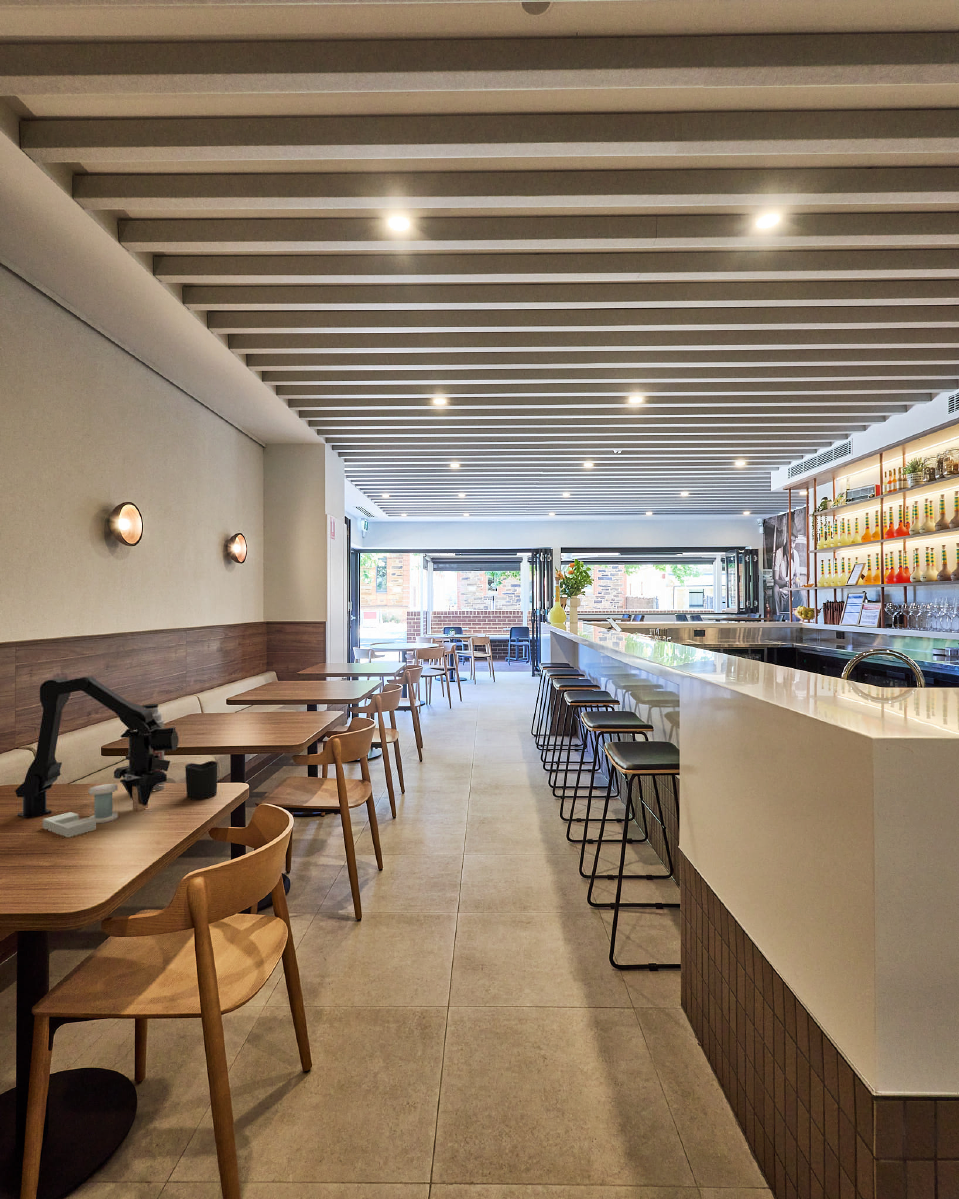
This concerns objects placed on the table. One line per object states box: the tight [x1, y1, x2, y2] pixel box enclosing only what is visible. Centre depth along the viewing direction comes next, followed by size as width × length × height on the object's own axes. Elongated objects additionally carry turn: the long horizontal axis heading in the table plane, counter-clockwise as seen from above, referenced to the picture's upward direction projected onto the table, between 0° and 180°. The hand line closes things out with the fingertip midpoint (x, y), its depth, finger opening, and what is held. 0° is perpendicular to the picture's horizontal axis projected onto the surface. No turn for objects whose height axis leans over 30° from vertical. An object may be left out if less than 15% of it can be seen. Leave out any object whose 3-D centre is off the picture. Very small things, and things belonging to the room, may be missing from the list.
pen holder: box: [184, 760, 219, 801], centre depth 201 cm, size 9×9×10 cm
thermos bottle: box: [141, 703, 165, 791], centre depth 210 cm, size 8×8×28 cm
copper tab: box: [131, 785, 149, 812], centre depth 189 cm, size 3×3×7 cm
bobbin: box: [88, 783, 119, 825], centre depth 180 cm, size 7×7×9 cm
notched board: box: [42, 811, 97, 838], centre depth 173 cm, size 14×7×2 cm, turn 57°
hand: (140, 804), depth 189 cm, fingers open, 5 cm apart
